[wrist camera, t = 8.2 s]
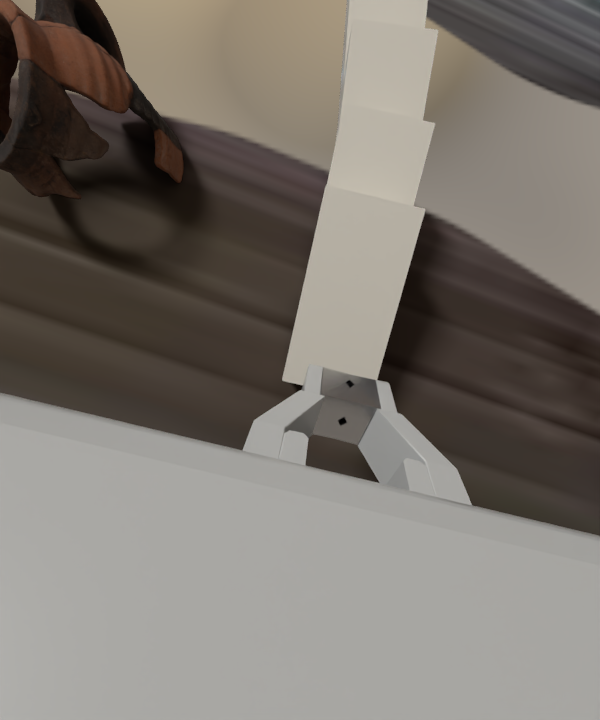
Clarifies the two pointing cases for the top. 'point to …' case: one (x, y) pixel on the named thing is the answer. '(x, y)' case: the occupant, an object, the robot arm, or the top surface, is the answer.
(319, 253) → the domino
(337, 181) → the domino
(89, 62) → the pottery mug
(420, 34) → the domino
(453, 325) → the top surface
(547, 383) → the top surface
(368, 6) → the domino
